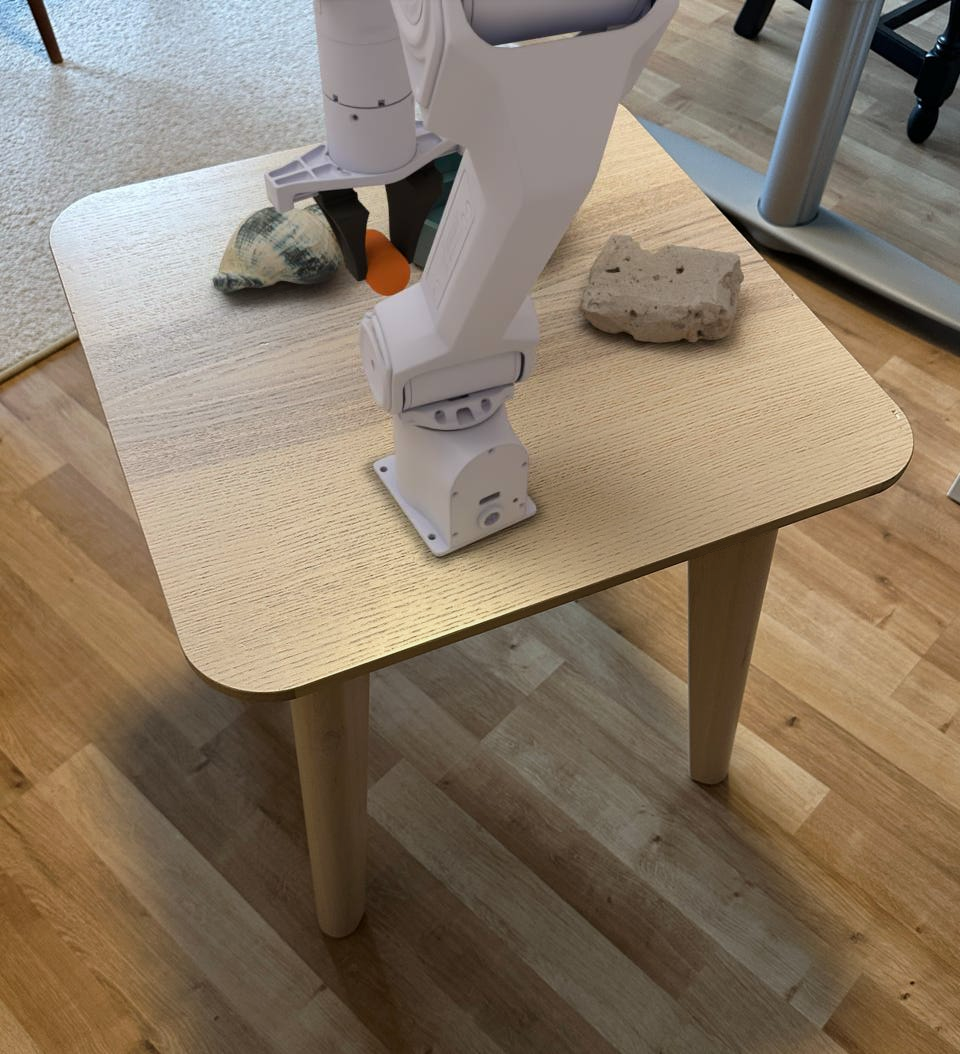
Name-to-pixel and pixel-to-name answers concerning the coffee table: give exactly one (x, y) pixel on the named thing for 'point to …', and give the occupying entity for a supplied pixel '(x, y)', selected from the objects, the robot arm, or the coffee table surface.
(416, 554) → the coffee table surface
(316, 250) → the seashell
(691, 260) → the stone
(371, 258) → the orange capsule pill
